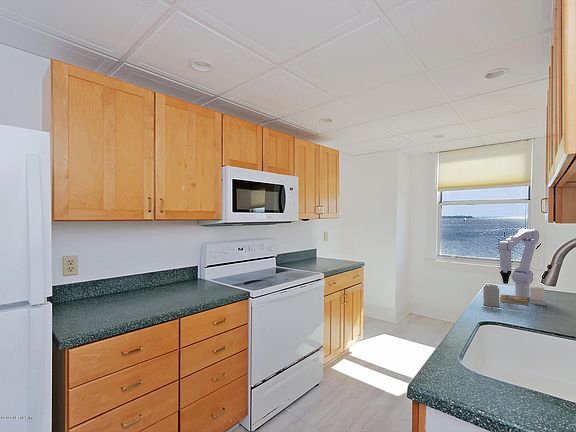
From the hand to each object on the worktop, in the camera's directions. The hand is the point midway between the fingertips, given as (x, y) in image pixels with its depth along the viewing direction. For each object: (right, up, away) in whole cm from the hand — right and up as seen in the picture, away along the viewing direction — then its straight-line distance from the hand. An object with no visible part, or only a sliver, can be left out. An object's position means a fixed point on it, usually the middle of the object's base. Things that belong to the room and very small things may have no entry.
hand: (505, 282), depth 188 cm
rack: (+1, -10, -6) cm, 12 cm away
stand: (+11, -10, -10) cm, 18 cm away
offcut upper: (-1, -8, -8) cm, 11 cm away
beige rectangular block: (+11, -10, -10) cm, 18 cm away
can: (-19, -10, -15) cm, 26 cm away
